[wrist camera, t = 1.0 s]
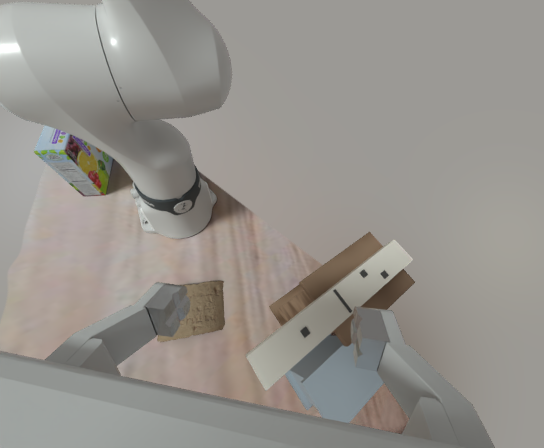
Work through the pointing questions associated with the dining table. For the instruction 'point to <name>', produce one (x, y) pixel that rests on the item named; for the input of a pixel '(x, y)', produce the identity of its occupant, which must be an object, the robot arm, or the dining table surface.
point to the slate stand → (333, 381)
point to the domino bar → (325, 314)
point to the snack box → (75, 161)
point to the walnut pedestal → (334, 273)
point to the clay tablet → (201, 311)
